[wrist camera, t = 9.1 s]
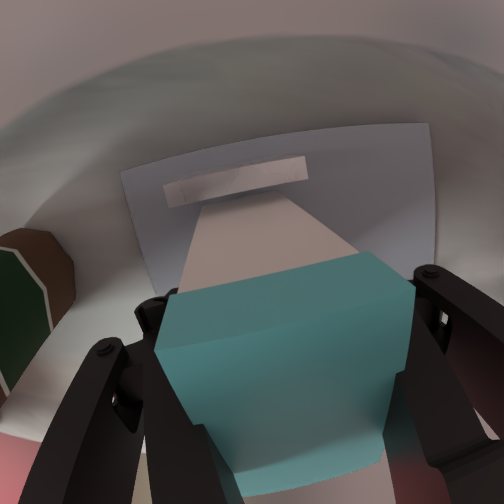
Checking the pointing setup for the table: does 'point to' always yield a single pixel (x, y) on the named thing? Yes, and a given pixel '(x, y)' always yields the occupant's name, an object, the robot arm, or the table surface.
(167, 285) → the panel
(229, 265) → the white and teal box
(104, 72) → the table surface
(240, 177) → the port
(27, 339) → the beer bottle
